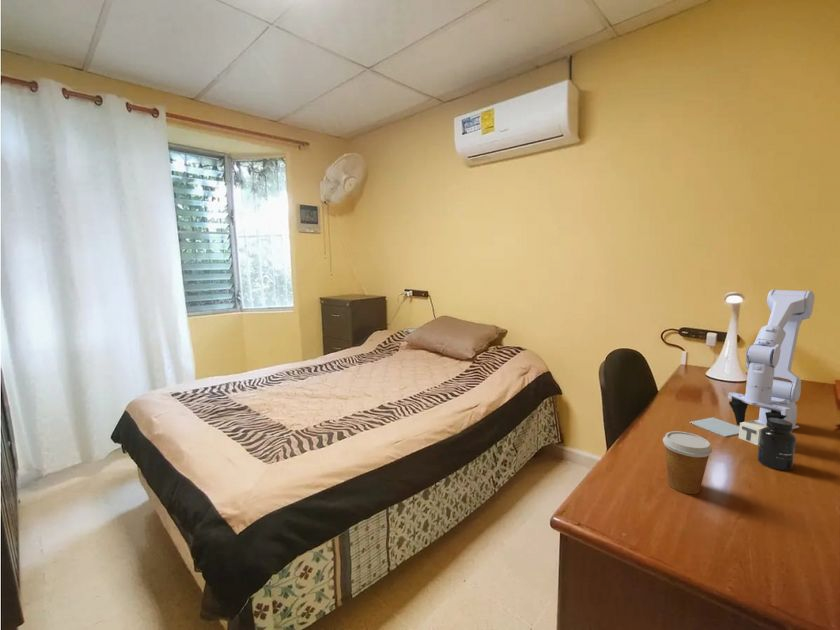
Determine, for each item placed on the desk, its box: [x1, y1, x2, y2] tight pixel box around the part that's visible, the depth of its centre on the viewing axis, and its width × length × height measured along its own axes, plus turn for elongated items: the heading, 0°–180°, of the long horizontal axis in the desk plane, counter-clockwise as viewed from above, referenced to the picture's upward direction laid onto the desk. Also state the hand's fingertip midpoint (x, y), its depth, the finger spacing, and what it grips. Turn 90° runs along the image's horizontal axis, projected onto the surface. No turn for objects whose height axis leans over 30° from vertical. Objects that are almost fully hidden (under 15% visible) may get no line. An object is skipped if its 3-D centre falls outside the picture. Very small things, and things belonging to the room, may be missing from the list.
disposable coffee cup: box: [662, 430, 713, 495], centre depth 89 cm, size 10×10×12 cm
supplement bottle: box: [756, 418, 797, 471], centre depth 98 cm, size 7×7×12 cm
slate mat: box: [688, 416, 740, 438], centre depth 121 cm, size 11×11×1 cm
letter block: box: [738, 419, 767, 446], centre depth 112 cm, size 5×5×5 cm
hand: (754, 429), depth 111 cm, fingers open, 7 cm apart
